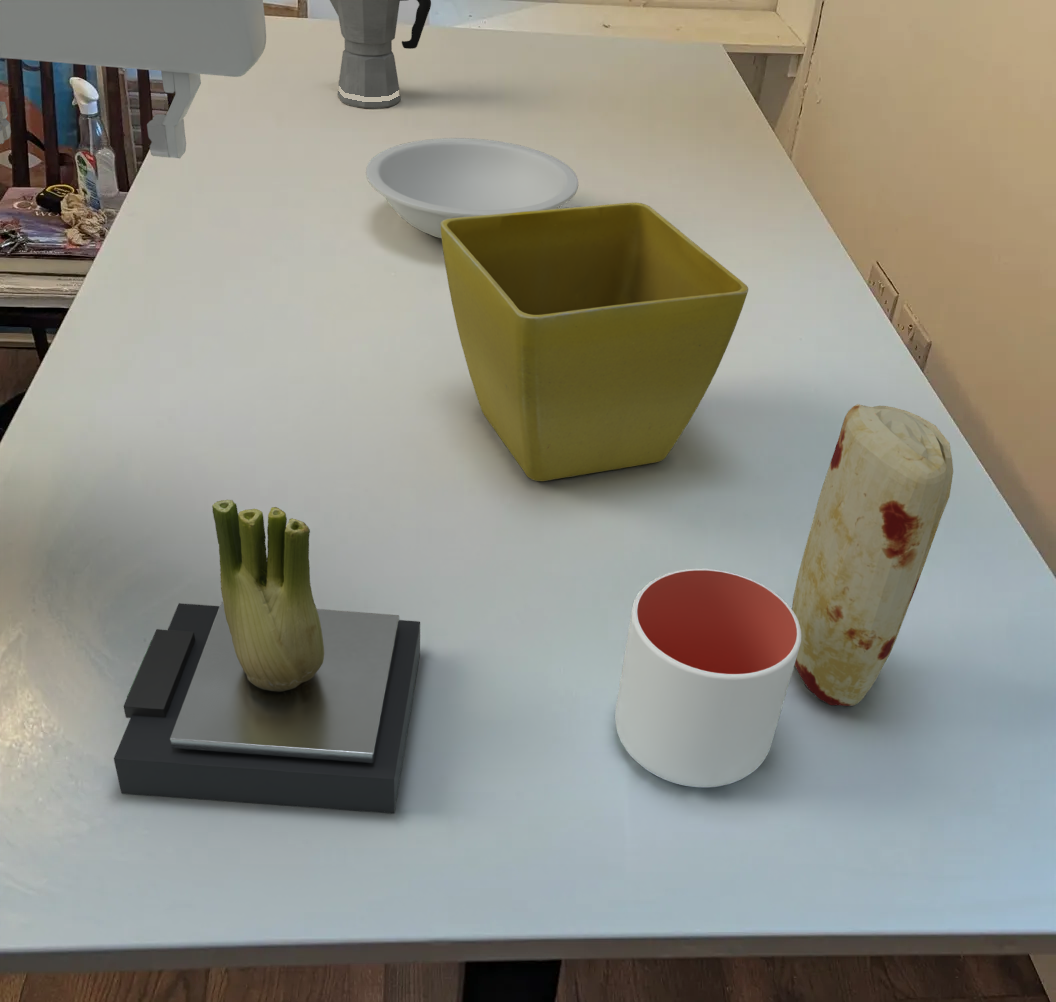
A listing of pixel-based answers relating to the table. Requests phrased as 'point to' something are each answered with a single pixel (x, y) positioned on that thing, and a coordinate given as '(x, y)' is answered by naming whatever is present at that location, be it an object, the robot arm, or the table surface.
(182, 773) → the scale
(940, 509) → the food model
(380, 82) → the coffeepot
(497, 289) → the flower pot
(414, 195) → the soup bowl
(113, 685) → the table surface
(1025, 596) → the table surface
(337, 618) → the scale pan
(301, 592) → the fennel bulb
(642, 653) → the cup
